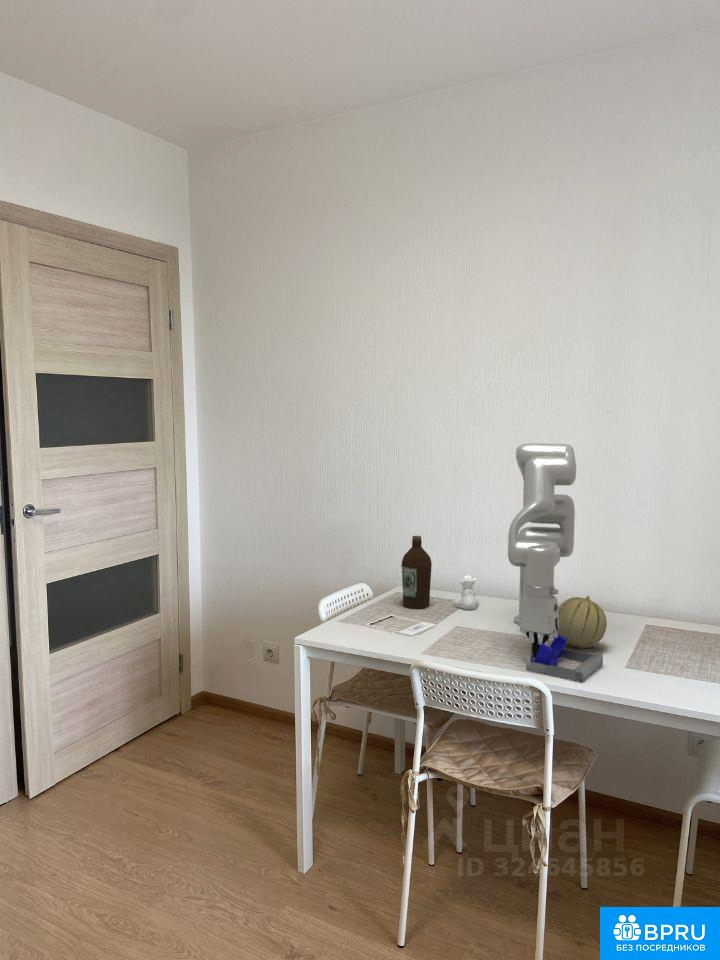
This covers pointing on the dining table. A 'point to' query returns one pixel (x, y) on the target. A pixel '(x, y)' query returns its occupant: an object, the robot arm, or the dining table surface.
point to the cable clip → (551, 651)
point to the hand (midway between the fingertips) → (537, 656)
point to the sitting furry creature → (467, 594)
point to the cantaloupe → (581, 622)
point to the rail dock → (579, 674)
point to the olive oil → (416, 576)
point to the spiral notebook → (411, 630)
